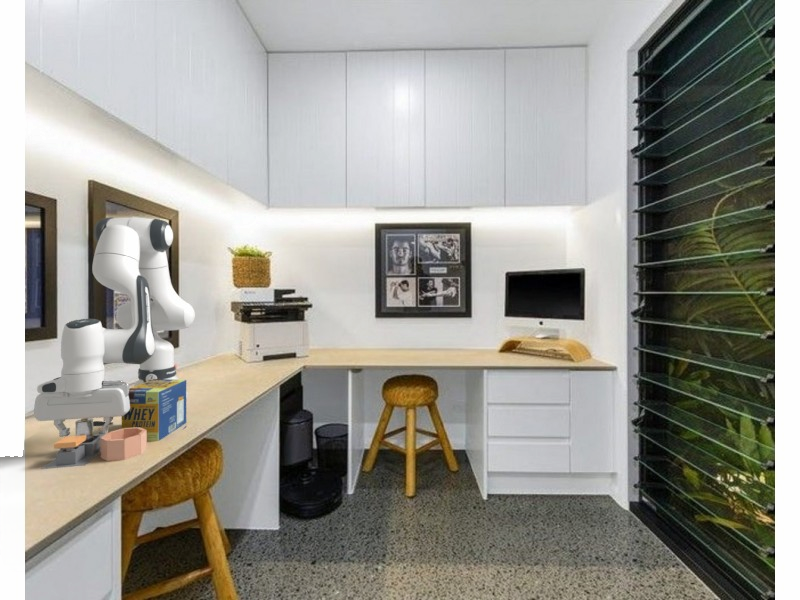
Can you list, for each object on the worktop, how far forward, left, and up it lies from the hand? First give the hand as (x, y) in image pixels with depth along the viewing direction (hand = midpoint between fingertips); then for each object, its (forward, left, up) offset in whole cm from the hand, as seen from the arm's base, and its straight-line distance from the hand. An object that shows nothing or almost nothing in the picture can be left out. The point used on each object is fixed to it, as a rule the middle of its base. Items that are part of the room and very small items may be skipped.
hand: (84, 434), depth 102 cm
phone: (-20, -10, -6) cm, 23 cm away
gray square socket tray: (+3, 0, -6) cm, 6 cm away
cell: (0, 0, -4) cm, 4 cm away
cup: (+3, +11, -6) cm, 12 cm away
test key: (+6, 0, -4) cm, 7 cm away
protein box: (-12, +13, -6) cm, 19 cm away
